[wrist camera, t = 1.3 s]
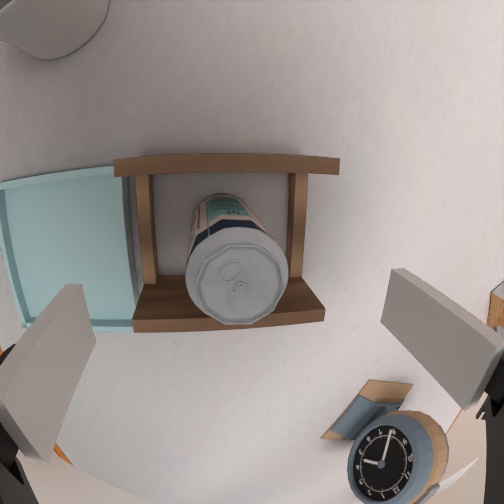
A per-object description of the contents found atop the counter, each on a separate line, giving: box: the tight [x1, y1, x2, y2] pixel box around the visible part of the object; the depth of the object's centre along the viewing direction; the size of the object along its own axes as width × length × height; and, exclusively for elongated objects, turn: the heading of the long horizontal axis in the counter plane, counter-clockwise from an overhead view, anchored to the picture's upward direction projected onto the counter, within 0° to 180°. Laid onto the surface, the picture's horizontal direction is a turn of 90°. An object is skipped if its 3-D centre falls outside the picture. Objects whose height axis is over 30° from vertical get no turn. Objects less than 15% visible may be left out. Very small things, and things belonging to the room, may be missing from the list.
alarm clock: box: [321, 379, 449, 504], centre depth 28 cm, size 14×10×18 cm
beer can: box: [185, 194, 288, 324], centre depth 18 cm, size 5×5×12 cm
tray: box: [0, 165, 139, 332], centre depth 22 cm, size 14×13×2 cm
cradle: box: [114, 153, 340, 333], centre depth 21 cm, size 11×13×7 cm
